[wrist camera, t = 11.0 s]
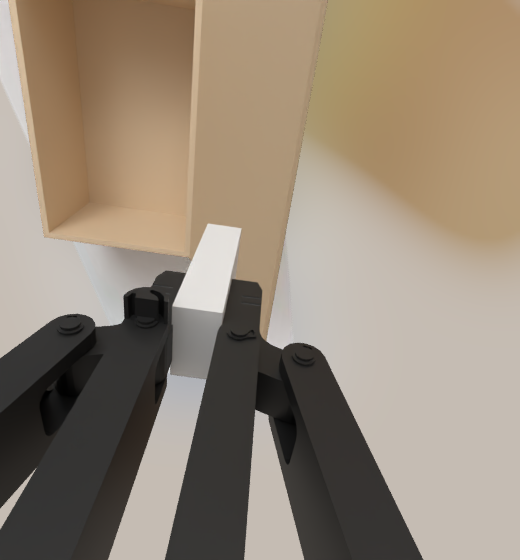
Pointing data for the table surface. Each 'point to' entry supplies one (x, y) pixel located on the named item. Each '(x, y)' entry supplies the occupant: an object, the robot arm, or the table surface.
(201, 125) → the carton lid
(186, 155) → the carton
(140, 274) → the table surface
